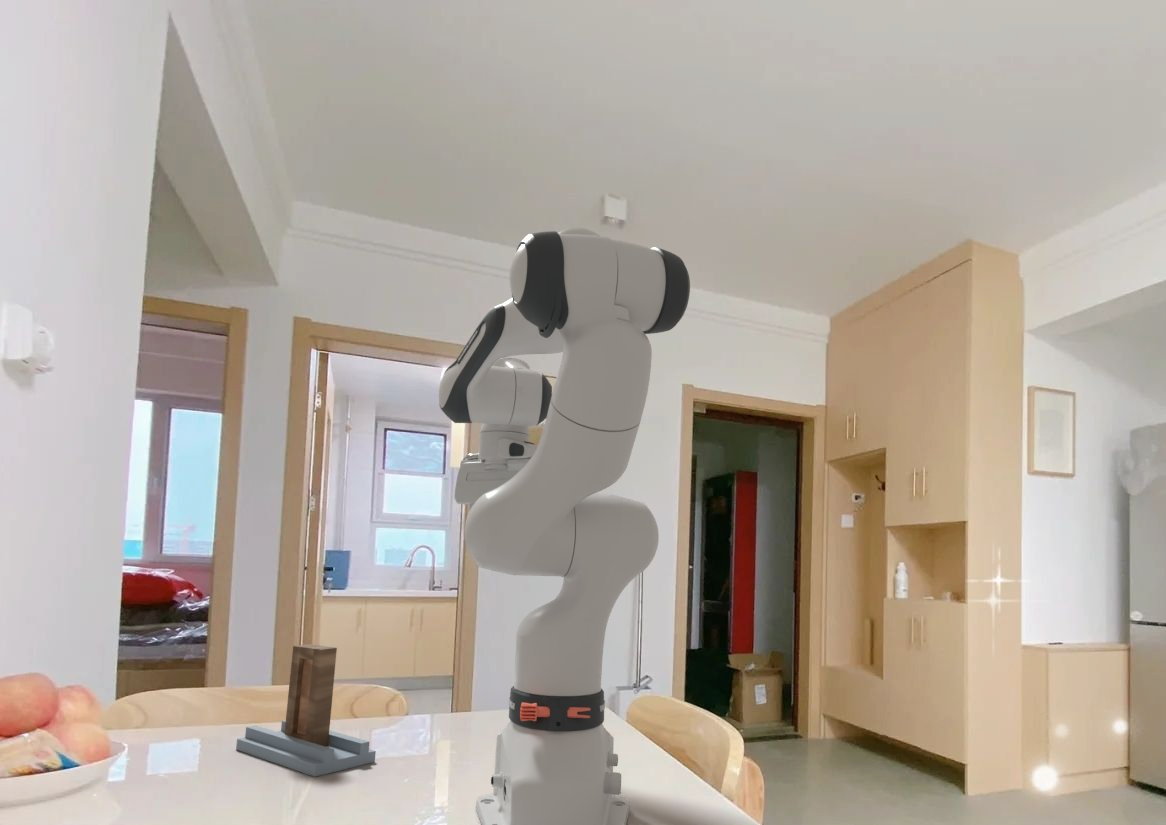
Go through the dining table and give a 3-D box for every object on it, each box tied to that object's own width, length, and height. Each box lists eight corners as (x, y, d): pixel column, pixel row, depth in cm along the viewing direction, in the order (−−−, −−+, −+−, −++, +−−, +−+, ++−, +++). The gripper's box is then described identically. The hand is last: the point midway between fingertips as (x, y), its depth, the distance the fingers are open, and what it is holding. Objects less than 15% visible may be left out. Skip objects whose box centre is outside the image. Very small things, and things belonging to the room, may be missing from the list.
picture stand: (374, 761, 109) (376, 740, 110) (314, 776, 101) (316, 753, 102) (295, 737, 121) (297, 718, 121) (236, 749, 113) (238, 728, 114)
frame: (327, 745, 111) (336, 647, 114) (312, 750, 109) (321, 649, 111) (299, 739, 114) (308, 644, 117) (283, 743, 111) (293, 645, 114)
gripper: (449, 452, 136) (444, 529, 133) (536, 445, 124) (532, 530, 121) (474, 456, 141) (469, 531, 138) (559, 450, 129) (556, 532, 126)
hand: (499, 531), depth 129 cm, fingers open, 8 cm apart
